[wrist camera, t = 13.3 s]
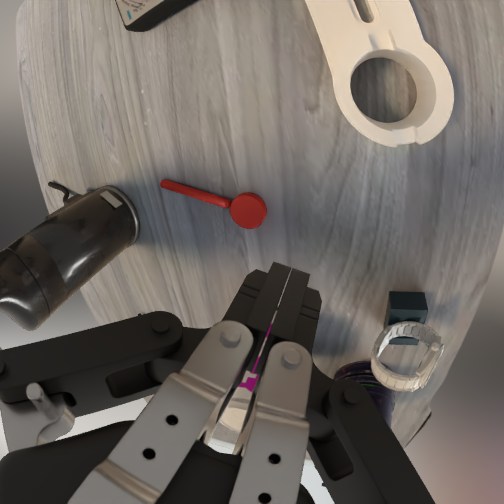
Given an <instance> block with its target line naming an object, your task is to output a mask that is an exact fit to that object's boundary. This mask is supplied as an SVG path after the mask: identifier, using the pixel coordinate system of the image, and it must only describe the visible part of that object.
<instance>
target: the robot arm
mask: <svg viewBox="0 0 504 504" xmlns="http://www.w3.org/2000/svg"><path fill="white" fill-rule="evenodd" d="M48 185H49V186H50V187H53V188H55V189H58V190H61V191H62V192H63V193H64V194H65V195H64V197H63V202H64V206H63V207H62V208H60V209H58V210H57V211H55V212H53V213H52V214H50V215H48V216H47V217H46V218H45V220H44V222H43V223H41V224H40V225H38V226H37V227H35V228H34V229H32V230H30V231H29V232H27V233H26V234H24V235H23V236H22V237H20V238H19V239H17V240H16V241H15V242H13V243H12V244H10V245H9V246H8V247H6V248H5V249H3V250H2V251H1V252H0V311H1V312H3V313H5V314H6V315H8V316H9V317H10V318H11V319H12V320H13V321H14V322H16V323H17V324H18V325H19V326H21V327H22V328H24V329H26V330H28V331H33V330H36V329H37V328H38V327H40V326H41V325H42V324H43V323H44V322H45V321H46V320H47V319H48V318H49V317H50V316H51V315H52V314H53V313H54V312H55V311H56V310H57V309H58V308H59V307H60V306H61V305H62V304H63V303H65V302H66V301H67V300H68V299H69V298H70V297H71V296H72V295H73V294H74V293H75V292H76V291H77V290H79V289H80V288H81V287H82V286H83V285H84V284H85V283H86V282H87V281H89V280H90V279H91V278H92V277H93V276H94V275H95V274H96V273H98V272H99V271H100V270H101V269H102V268H103V267H105V266H106V265H107V264H108V263H109V262H110V261H112V260H113V259H114V258H115V257H116V256H117V255H119V254H120V253H121V252H122V251H123V250H124V249H126V248H127V247H129V246H131V245H132V244H133V243H134V242H135V241H136V240H137V238H138V235H139V219H138V215H137V212H136V210H135V208H134V206H133V204H132V203H131V201H130V200H129V199H128V197H127V196H126V195H125V194H124V193H123V192H121V191H120V190H118V189H117V188H114V187H111V186H104V187H101V188H99V189H97V190H96V191H94V190H91V191H90V192H88V193H86V194H84V195H80V194H76V195H74V196H73V197H71V198H69V199H68V197H69V192H68V190H67V189H66V188H65V187H63V186H61V185H58V184H55V183H53V182H49V183H48ZM290 269H291V268H290V267H288V266H285V265H282V264H279V263H276V262H273V264H272V266H271V268H270V270H269V272H268V273H266V272H263V271H260V270H257V269H256V270H255V271H253V272H251V273H250V274H248V275H247V276H246V278H245V280H244V282H243V284H242V285H241V287H240V289H239V291H238V293H237V294H236V296H235V298H234V300H233V302H232V303H231V305H230V307H229V309H228V311H227V312H226V314H225V316H224V318H223V319H222V321H221V322H218V323H216V324H214V325H213V326H212V327H210V328H206V329H197V328H189V327H183V325H182V323H181V321H180V319H179V318H178V317H177V316H175V315H174V314H172V313H169V312H165V311H155V312H151V313H147V314H144V315H140V316H136V317H133V318H129V319H125V320H121V321H118V322H114V323H110V324H106V325H103V326H99V327H95V328H91V329H87V330H84V331H79V332H75V333H72V334H68V335H64V336H60V337H56V338H51V339H47V340H43V341H39V342H35V343H31V344H27V345H22V346H18V347H13V348H9V349H5V350H2V349H1V348H0V410H1V416H2V422H3V427H4V433H5V437H6V442H7V446H8V450H9V453H8V454H7V455H6V456H4V457H3V458H2V459H1V461H0V504H315V503H314V500H313V498H312V497H311V495H310V494H309V492H308V491H307V489H306V488H305V487H304V486H303V485H302V484H301V483H300V482H301V476H302V471H303V466H304V460H305V455H306V449H307V451H308V453H309V455H310V457H311V459H312V461H313V463H314V465H315V467H316V469H317V471H318V473H319V475H320V476H321V478H322V480H323V482H324V484H325V486H326V488H327V490H328V492H329V493H330V495H331V498H332V499H333V501H334V503H335V504H435V502H434V500H433V499H432V497H431V495H430V493H429V492H428V490H427V488H426V487H425V485H424V483H423V481H422V480H421V478H420V476H419V475H418V473H417V471H416V470H415V468H414V467H413V465H412V463H411V461H410V460H409V458H408V456H407V455H406V453H405V451H404V450H403V448H402V446H401V445H400V443H399V441H398V440H397V438H396V436H395V435H394V433H393V432H392V430H391V428H390V427H389V425H388V423H387V422H386V420H385V419H384V417H383V415H382V414H381V412H380V410H379V409H378V407H377V406H376V404H375V402H374V401H373V399H372V398H371V396H370V394H369V393H368V391H367V390H366V388H365V387H364V386H363V385H362V384H360V383H359V382H357V381H355V380H352V379H340V380H338V381H336V382H335V381H334V380H332V379H331V378H329V377H328V376H326V375H325V374H323V373H322V372H321V371H320V370H319V369H318V368H317V367H316V365H315V364H314V362H313V359H312V348H313V343H314V338H315V334H316V329H317V324H318V319H319V314H320V313H319V312H320V309H321V303H322V300H321V297H320V294H319V291H317V290H314V289H311V288H309V287H307V284H308V281H309V277H310V274H308V273H305V272H302V271H299V270H296V269H293V268H292V271H291V274H290V277H289V280H288V283H287V285H286V288H285V291H284V294H283V296H282V299H281V302H280V305H279V307H278V310H277V313H276V316H275V318H274V321H273V324H272V326H271V329H270V332H269V334H268V337H267V340H266V342H265V345H264V348H263V350H262V353H261V356H260V358H259V361H258V363H257V366H256V368H255V371H254V373H255V374H258V375H259V376H258V379H257V382H256V384H255V387H254V389H253V391H252V394H251V397H250V401H249V404H248V407H247V411H246V414H245V418H244V421H243V424H242V428H241V431H240V434H239V437H238V440H237V443H236V445H235V448H234V451H233V454H225V453H219V452H217V451H215V450H213V449H212V448H211V447H209V446H208V445H207V444H208V443H209V441H210V439H211V437H212V434H213V432H214V430H215V428H216V426H217V425H218V423H219V421H220V419H221V417H222V416H223V414H224V412H225V410H226V408H227V407H228V405H229V403H230V401H231V399H232V397H233V396H234V394H235V392H236V390H237V388H238V386H239V385H240V384H241V382H242V380H243V378H244V375H245V373H246V371H249V372H252V371H253V368H254V366H255V363H256V361H257V358H258V356H259V353H260V351H261V348H262V345H263V343H264V340H265V338H266V335H267V332H268V330H269V327H270V324H271V322H272V319H273V316H274V314H275V311H276V308H277V306H278V303H279V300H280V297H281V295H282V292H283V289H284V286H285V283H286V281H287V278H288V275H289V272H290ZM152 394H154V396H153V397H152V398H151V400H150V401H149V402H148V404H147V405H146V407H145V408H144V409H143V411H142V412H141V413H140V415H139V416H138V417H137V419H136V420H129V421H121V422H117V423H113V424H110V425H107V426H104V427H101V428H98V429H95V430H91V431H88V432H85V433H82V434H78V435H75V436H72V437H68V438H64V439H61V440H57V441H55V440H56V439H57V438H58V437H60V436H63V435H65V434H67V433H68V432H69V431H70V430H71V429H72V427H73V425H74V421H75V417H79V416H83V415H87V414H91V413H94V412H98V411H101V410H104V409H108V408H111V407H115V406H118V405H122V404H125V403H128V402H131V401H134V400H137V399H140V398H143V397H146V396H149V395H152Z"/></svg>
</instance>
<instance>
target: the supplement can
mask: <svg viewBox="0 0 504 504" xmlns="http://www.w3.org/2000/svg"><path fill="white" fill-rule="evenodd" d="M276 313H277V310H276V311H275V314H274V316H273V319H272V322H271V324H270V327H269V330H268V332H267V335H266V338H265V340H264V343H263V345H262V348H261V351H260V353H259V356H258V358H257V361H256V363H255V366H254V368H253V371H252V372H249V371H246V373H245V375H244V378H243V380H242V382H241V384H240V385H239V386H238V388H237V390H236V392H235V394H234V396H233V397H232V399H231V401H230V403H229V405H228V407H227V408H226V410H225V412H224V414H223V416H222V417H221V419H220V422H221V423H222V424H223V425H224V426H226V427H227V428H229V429H231V430H232V431H234V432H236V433H239V434H240V431H241V428H242V424H243V421H244V418H245V414H246V411H247V407H248V404H249V401H250V397H251V394H252V391H253V389H254V387H255V384H256V382H257V379H258V376H259V375H258V374H255V373H254V371H255V368H256V366H257V363H258V361H259V358H260V356H261V353H262V350H263V348H264V345H265V342H266V340H267V337H268V334H269V332H270V329H271V326H272V324H273V321H274V318H275V316H276Z"/></svg>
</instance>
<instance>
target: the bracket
mask: <svg viewBox="0 0 504 504" xmlns="http://www.w3.org/2000/svg"><path fill="white" fill-rule="evenodd" d="M364 1H365V3H366V6H367V8H368V11H369V13H370V16H371V18H372V21H373V22H371V23H366V22H363V21H362V20H361V18H360V15H359V13H358V10H357V8H356V5H355V3H354V1H353V0H305V2H306V4H307V7H308V9H309V11H310V14H311V17H312V19H313V22H314V24H315V27H316V30H317V32H318V35H319V38H320V41H321V43H322V46H323V49H324V52H325V55H326V58H327V61H328V64H329V67H330V70H331V74H332V77H333V87H334V92H335V96H336V99H337V102H338V105H339V107H340V109H341V111H342V112H343V114H344V115H345V117H346V118H347V120H348V121H349V122H350V123H351V124H352V125H353V127H354V128H356V129H357V130H358V131H359V132H360V133H362V134H363V135H364V136H366V137H367V138H369V139H371V140H373V141H375V142H377V143H380V144H382V145H386V146H390V147H397V144H408V143H413V142H417V143H418V144H419V145H421V144H424V143H426V142H428V141H429V140H431V139H433V138H434V137H435V136H437V135H438V134H439V133H440V132H441V131H442V129H443V128H444V127H445V125H446V124H447V122H448V120H449V118H450V115H451V113H452V109H453V103H454V89H453V84H452V80H451V76H450V73H449V71H448V69H447V67H446V65H445V63H444V62H443V60H442V58H441V57H440V56H439V55H438V53H437V52H436V51H435V50H434V49H433V48H432V47H431V46H430V45H429V44H427V43H426V42H425V41H424V39H423V36H422V33H421V30H420V27H419V25H418V22H417V19H416V17H415V14H414V11H413V9H412V6H411V4H410V2H409V0H364ZM378 57H381V58H388V59H391V60H394V61H396V62H398V63H399V64H401V65H402V66H403V67H405V68H406V69H407V70H408V72H409V73H410V74H411V76H412V78H413V80H414V82H415V85H416V89H417V100H416V104H415V106H414V108H413V110H412V111H411V113H410V114H409V115H408V116H407V117H405V118H404V119H402V120H400V121H397V122H393V123H383V122H378V121H375V120H373V119H371V118H369V117H367V116H366V115H365V114H363V113H362V112H361V111H360V110H359V108H358V107H357V106H356V104H355V102H354V100H353V98H352V95H351V90H350V81H351V77H352V74H353V72H354V71H355V69H356V68H357V67H358V66H359V65H360V64H361V63H362V62H364V61H366V60H368V59H371V58H378Z"/></svg>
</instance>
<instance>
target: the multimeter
mask: <svg viewBox="0 0 504 504" xmlns="http://www.w3.org/2000/svg"><path fill="white" fill-rule="evenodd" d="M115 1H116V4H117V7H118V10H119V13H120V15H121V18H122V21H123V24H124V26H125V28H126V29H127V30H129V31H134V32H144V31H147V30H148V29H150V28H151V27H153V26H154V25H156V24H157V23H159V22H160V21H162V20H164V19H165V18H167V17H168V16H170V15H171V14H173V13H175V12H176V11H178V10H180V9H181V8H183V7H185V6H187V5H188V4H190V3H192V2H194V1H196V0H115Z"/></svg>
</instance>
